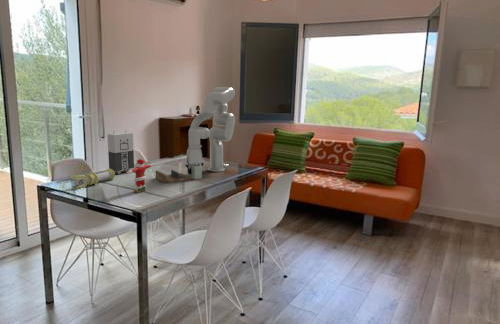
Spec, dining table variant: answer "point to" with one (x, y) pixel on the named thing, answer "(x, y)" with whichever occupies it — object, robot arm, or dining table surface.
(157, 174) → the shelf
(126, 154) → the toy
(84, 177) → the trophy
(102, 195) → the dining table surface
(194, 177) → the pale green block
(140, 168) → the santa figurine
